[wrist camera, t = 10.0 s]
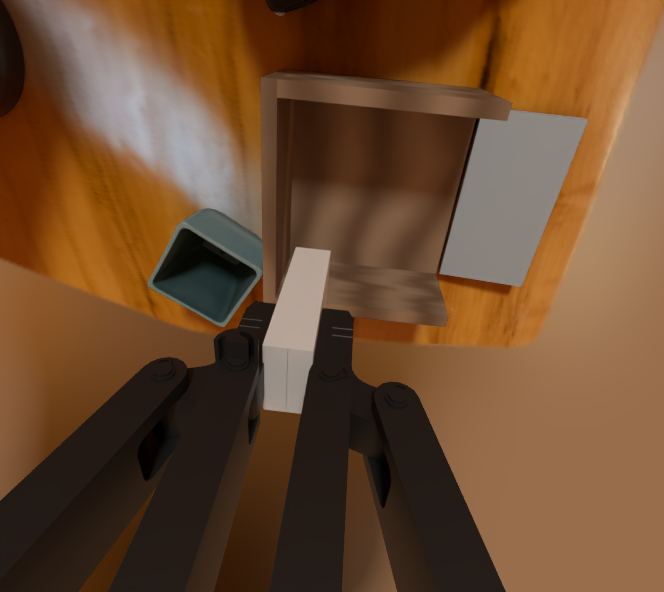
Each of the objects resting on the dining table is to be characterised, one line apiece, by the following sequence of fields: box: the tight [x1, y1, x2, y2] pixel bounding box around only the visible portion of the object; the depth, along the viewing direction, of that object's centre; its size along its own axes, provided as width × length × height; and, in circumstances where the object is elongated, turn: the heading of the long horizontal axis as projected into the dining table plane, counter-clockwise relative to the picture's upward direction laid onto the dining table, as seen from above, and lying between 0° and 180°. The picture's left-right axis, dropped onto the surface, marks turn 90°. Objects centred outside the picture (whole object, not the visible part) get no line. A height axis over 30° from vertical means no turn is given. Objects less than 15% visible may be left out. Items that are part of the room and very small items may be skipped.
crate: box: [261, 69, 512, 327], centre depth 38 cm, size 18×20×10 cm
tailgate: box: [439, 110, 588, 287], centre depth 41 cm, size 1×17×9 cm
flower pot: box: [148, 209, 263, 327], centre depth 43 cm, size 9×9×9 cm
